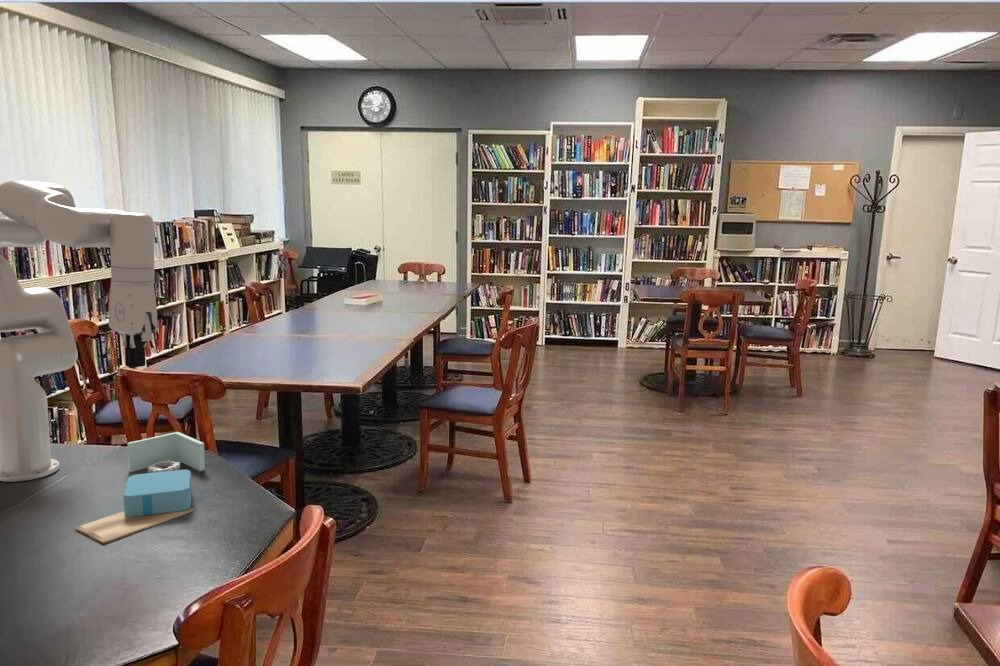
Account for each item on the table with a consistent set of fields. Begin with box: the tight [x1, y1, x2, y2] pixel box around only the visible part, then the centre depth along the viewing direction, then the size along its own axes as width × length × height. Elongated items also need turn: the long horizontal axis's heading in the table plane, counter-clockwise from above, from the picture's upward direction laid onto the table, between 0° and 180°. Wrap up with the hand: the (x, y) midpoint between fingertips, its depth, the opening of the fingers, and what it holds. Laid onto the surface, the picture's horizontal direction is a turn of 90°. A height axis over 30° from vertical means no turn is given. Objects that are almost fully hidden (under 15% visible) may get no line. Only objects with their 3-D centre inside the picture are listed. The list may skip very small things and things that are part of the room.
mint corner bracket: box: [127, 431, 206, 473], centre depth 156 cm, size 12×12×8 cm
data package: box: [122, 469, 192, 517], centre depth 138 cm, size 12×4×12 cm
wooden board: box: [74, 507, 194, 545], centre depth 131 cm, size 10×18×1 cm, turn 148°
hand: (135, 366), depth 134 cm, fingers closed
